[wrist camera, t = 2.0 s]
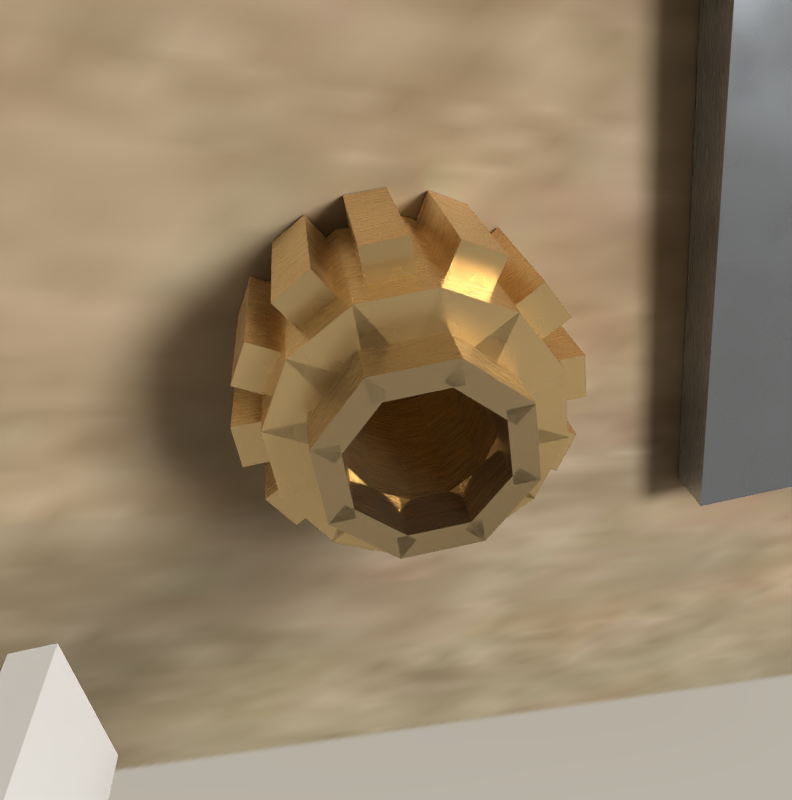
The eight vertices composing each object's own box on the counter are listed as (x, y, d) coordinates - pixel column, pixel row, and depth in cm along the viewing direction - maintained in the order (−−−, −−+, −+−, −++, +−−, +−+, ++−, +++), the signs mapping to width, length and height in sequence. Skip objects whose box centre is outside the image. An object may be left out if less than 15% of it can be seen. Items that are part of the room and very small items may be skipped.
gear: (200, 222, 19) (170, 325, 13) (525, 160, 19) (622, 235, 14) (278, 486, 23) (278, 645, 17) (542, 431, 23) (623, 570, 18)
